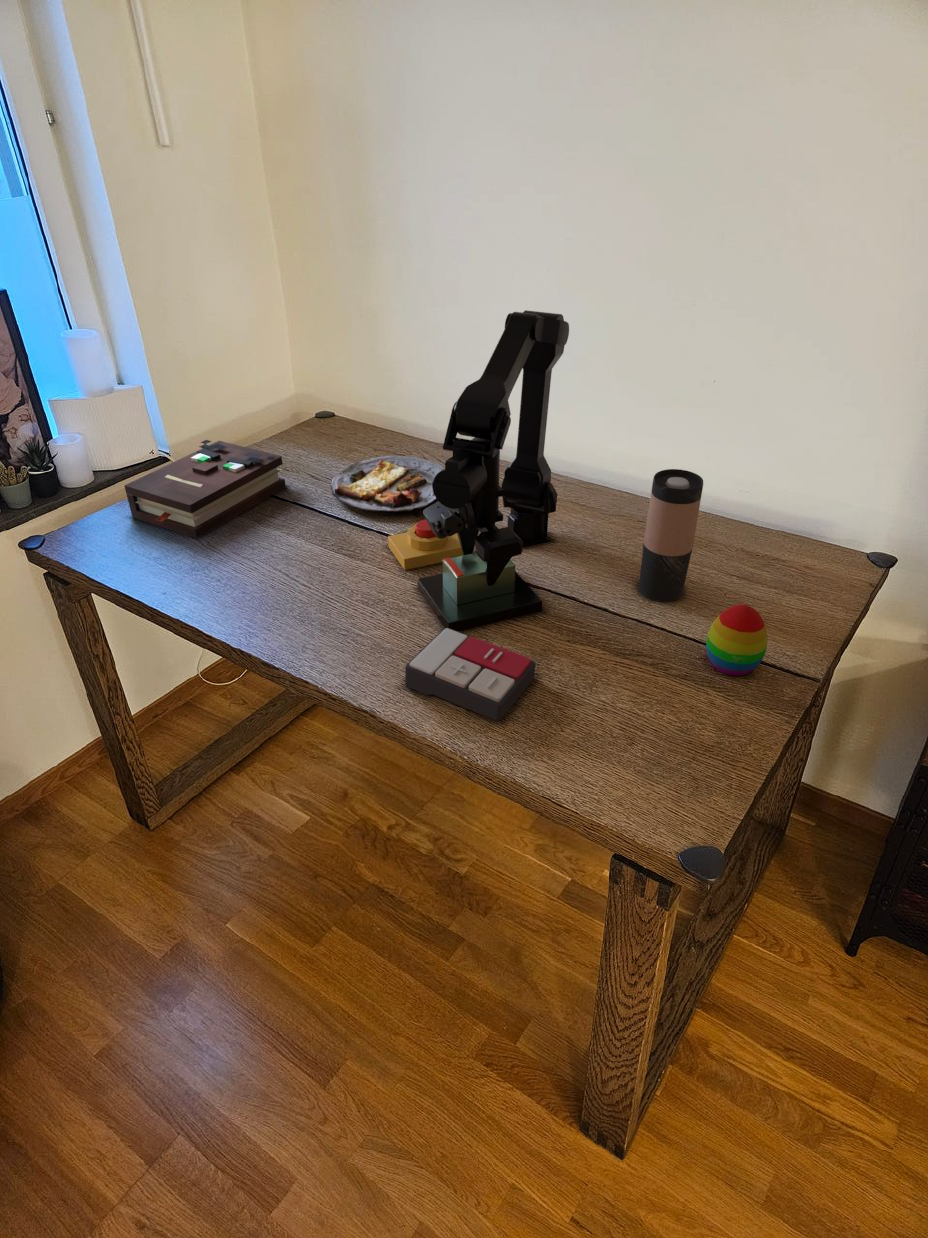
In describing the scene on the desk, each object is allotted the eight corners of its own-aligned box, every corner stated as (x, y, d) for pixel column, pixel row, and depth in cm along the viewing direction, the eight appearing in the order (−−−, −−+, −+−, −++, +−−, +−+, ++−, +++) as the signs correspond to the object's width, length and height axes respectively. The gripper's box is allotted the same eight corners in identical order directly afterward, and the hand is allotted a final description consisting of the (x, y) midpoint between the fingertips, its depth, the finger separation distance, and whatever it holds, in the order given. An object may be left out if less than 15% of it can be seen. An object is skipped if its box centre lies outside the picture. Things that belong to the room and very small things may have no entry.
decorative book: (108, 484, 150) (222, 431, 172) (118, 520, 154) (228, 465, 176) (184, 507, 142) (293, 449, 164) (192, 545, 147) (297, 483, 168)
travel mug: (686, 582, 136) (706, 472, 125) (681, 606, 130) (701, 492, 119) (640, 575, 138) (656, 465, 127) (633, 597, 132) (649, 485, 121)
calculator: (501, 701, 105) (403, 662, 110) (498, 726, 107) (403, 686, 113) (537, 657, 113) (445, 622, 118) (534, 680, 115) (444, 645, 121)
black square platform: (504, 569, 139) (505, 559, 138) (542, 611, 129) (542, 600, 128) (417, 588, 134) (417, 578, 133) (448, 633, 124) (448, 623, 123)
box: (498, 574, 134) (499, 546, 131) (514, 592, 130) (515, 563, 127) (442, 586, 131) (442, 558, 128) (456, 605, 127) (456, 576, 124)
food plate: (403, 530, 151) (402, 513, 149) (308, 501, 161) (306, 485, 159) (473, 482, 169) (473, 466, 167) (383, 458, 179) (382, 443, 177)
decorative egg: (745, 689, 113) (760, 631, 107) (692, 666, 117) (704, 608, 111) (770, 662, 118) (785, 605, 112) (718, 641, 122) (730, 585, 116)
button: (434, 526, 145) (433, 518, 144) (442, 536, 142) (442, 527, 141) (413, 530, 143) (412, 522, 142) (420, 541, 140) (420, 532, 139)
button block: (449, 534, 150) (449, 515, 148) (468, 556, 143) (468, 536, 141) (388, 546, 146) (387, 527, 144) (404, 570, 139) (403, 550, 137)
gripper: (407, 465, 124) (411, 553, 133) (453, 516, 110) (454, 612, 119) (474, 454, 128) (473, 540, 137) (526, 502, 114) (522, 596, 122)
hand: (478, 570), depth 129 cm, fingers open, 9 cm apart
